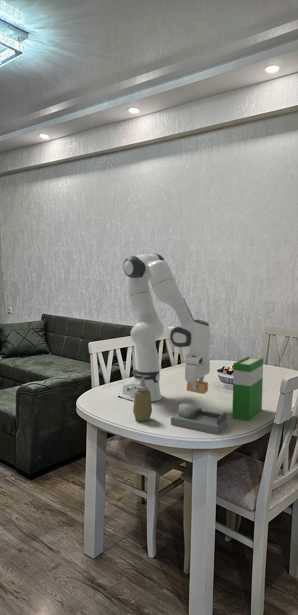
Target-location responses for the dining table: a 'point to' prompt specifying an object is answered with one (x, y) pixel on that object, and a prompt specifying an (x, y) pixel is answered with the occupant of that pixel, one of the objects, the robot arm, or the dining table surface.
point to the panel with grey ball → (199, 419)
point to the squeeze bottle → (142, 402)
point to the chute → (198, 387)
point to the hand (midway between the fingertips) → (197, 387)
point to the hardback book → (247, 388)
